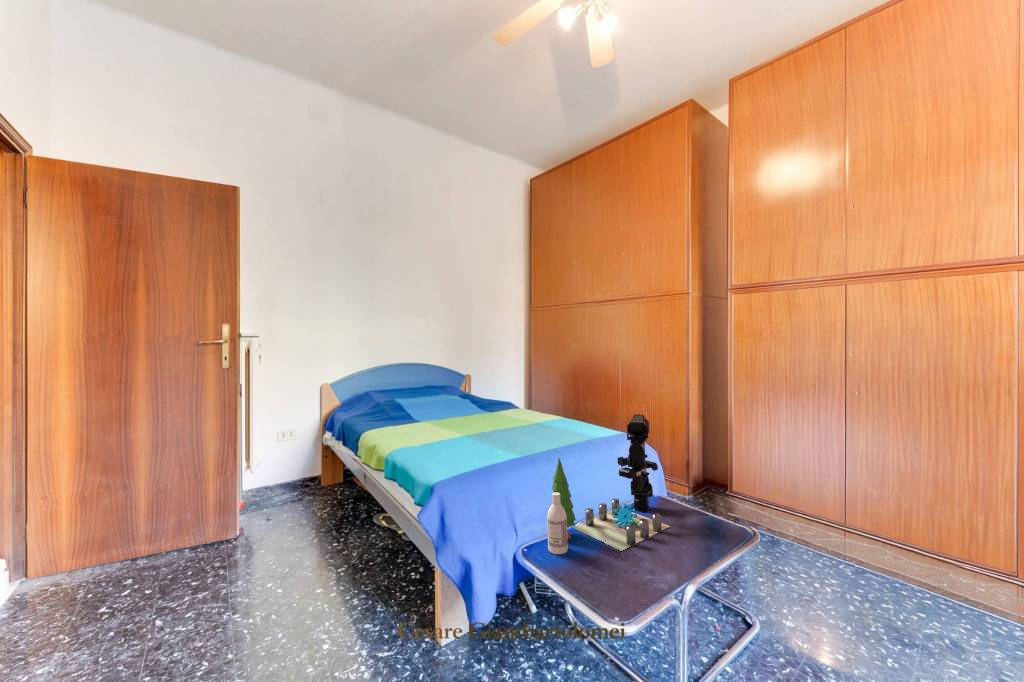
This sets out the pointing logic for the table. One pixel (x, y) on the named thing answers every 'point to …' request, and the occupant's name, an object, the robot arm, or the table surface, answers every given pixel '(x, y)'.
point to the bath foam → (557, 526)
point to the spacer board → (615, 531)
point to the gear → (625, 516)
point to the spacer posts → (629, 528)
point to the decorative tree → (564, 494)
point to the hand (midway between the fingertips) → (639, 490)
